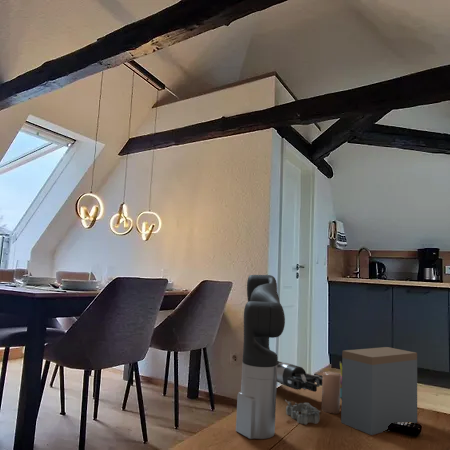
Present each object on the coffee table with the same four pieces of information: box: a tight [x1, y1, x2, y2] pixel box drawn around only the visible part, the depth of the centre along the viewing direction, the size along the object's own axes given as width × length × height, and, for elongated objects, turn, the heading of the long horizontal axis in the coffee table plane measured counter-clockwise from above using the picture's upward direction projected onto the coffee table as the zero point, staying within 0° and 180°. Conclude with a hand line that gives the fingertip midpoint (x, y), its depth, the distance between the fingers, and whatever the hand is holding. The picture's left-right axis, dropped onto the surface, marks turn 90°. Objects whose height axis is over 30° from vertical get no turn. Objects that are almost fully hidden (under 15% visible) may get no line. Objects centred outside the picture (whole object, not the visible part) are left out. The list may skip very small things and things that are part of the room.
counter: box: [340, 346, 418, 436], centre depth 118 cm, size 22×10×20 cm, turn 125°
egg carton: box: [284, 399, 322, 425], centre depth 118 cm, size 11×8×4 cm
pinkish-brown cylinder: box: [321, 371, 341, 414], centre depth 126 cm, size 6×6×11 cm
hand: (325, 386), depth 128 cm, fingers open, 8 cm apart
